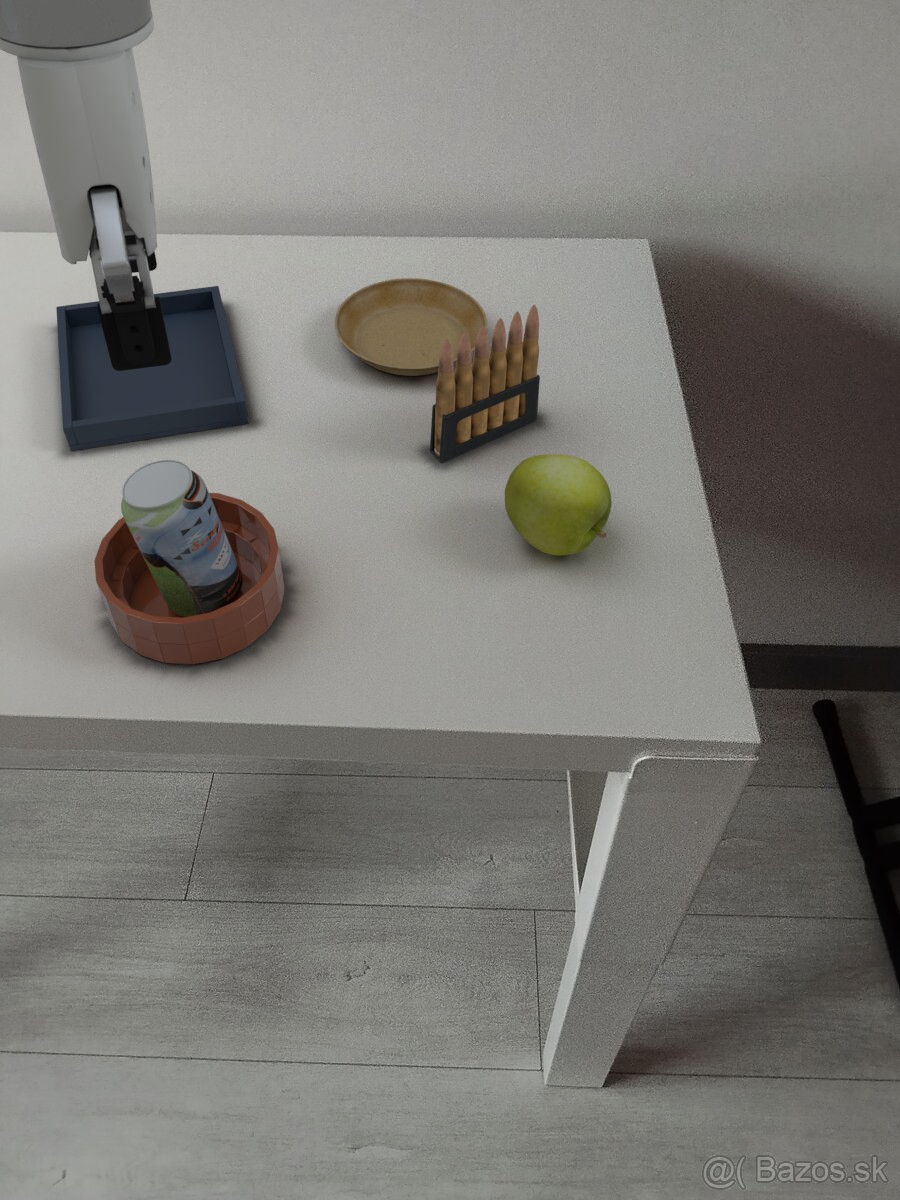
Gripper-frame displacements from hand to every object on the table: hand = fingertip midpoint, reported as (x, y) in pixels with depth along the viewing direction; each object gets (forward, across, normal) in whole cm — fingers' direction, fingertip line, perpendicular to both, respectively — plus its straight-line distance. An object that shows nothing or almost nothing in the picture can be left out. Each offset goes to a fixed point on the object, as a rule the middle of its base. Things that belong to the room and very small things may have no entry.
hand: (136, 315), depth 61 cm
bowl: (+26, 0, 0) cm, 26 cm away
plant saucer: (+25, -29, +24) cm, 45 cm away
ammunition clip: (+25, -14, +27) cm, 39 cm away
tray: (+26, -29, -1) cm, 39 cm away
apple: (+25, 0, +29) cm, 38 cm away
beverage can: (+26, 0, 0) cm, 26 cm away
